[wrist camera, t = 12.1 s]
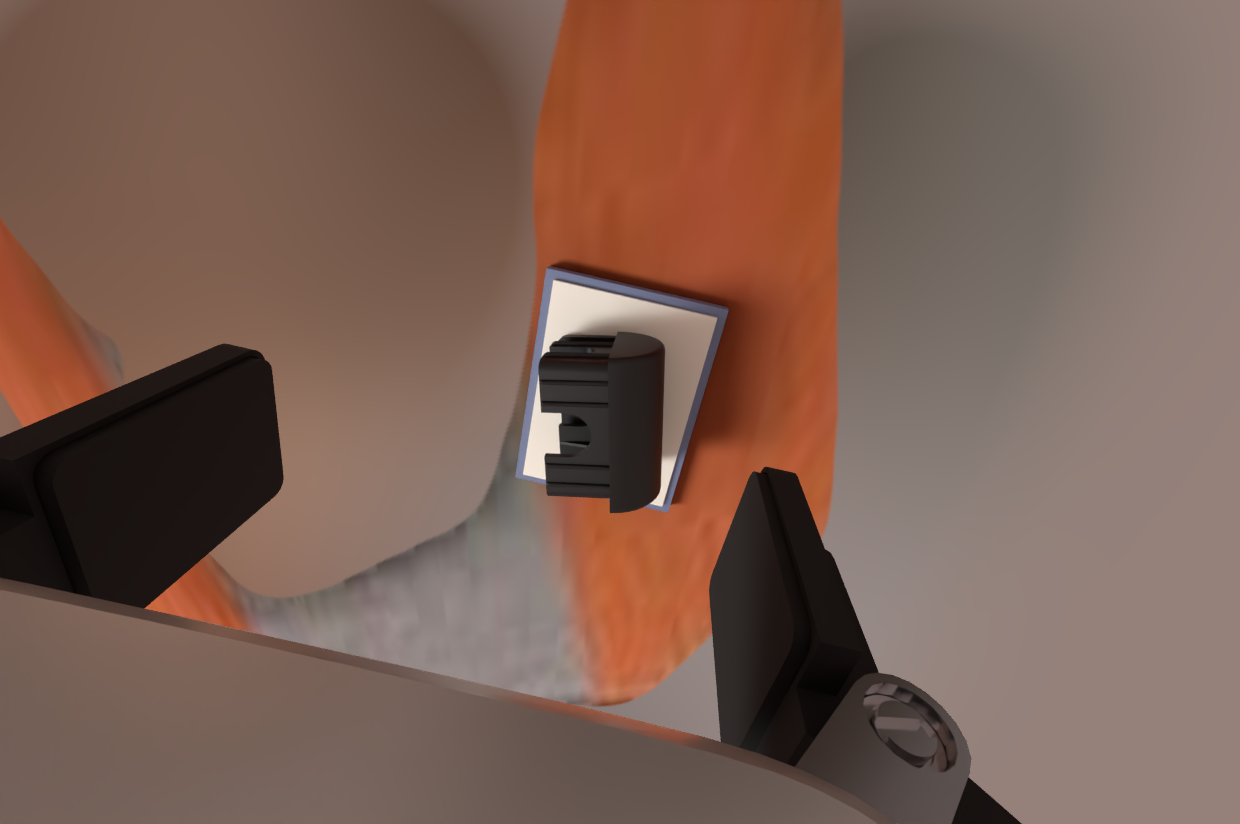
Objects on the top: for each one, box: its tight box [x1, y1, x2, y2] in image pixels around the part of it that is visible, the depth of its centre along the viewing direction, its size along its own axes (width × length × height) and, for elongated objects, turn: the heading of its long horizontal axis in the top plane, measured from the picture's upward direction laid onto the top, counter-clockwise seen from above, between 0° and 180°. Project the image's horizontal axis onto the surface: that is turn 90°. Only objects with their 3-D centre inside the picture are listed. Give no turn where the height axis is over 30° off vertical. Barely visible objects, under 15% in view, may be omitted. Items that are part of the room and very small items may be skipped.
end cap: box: [538, 332, 665, 513], centre depth 33 cm, size 10×7×7 cm
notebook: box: [515, 266, 729, 513], centre depth 37 cm, size 16×12×1 cm
